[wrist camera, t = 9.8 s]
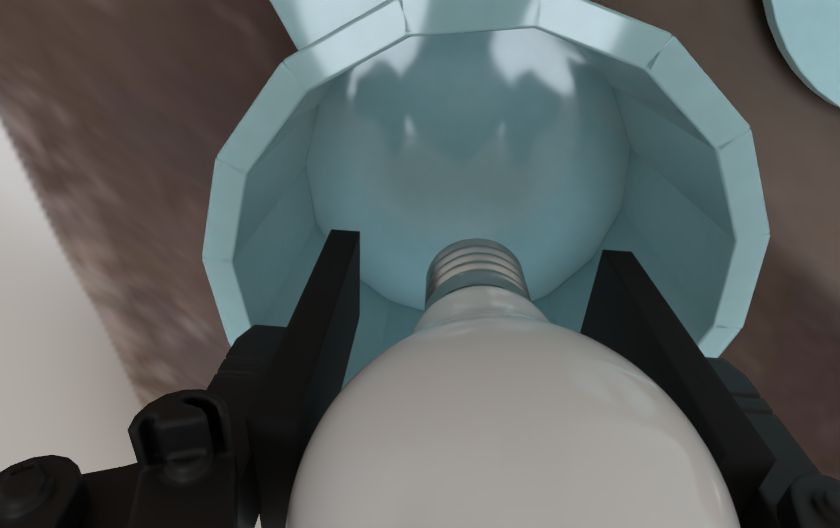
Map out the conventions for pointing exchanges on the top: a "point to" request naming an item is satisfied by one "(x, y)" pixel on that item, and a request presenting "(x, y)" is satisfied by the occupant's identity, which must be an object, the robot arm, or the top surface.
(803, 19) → the lid
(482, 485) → the lightbulb
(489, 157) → the pot
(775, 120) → the top surface
